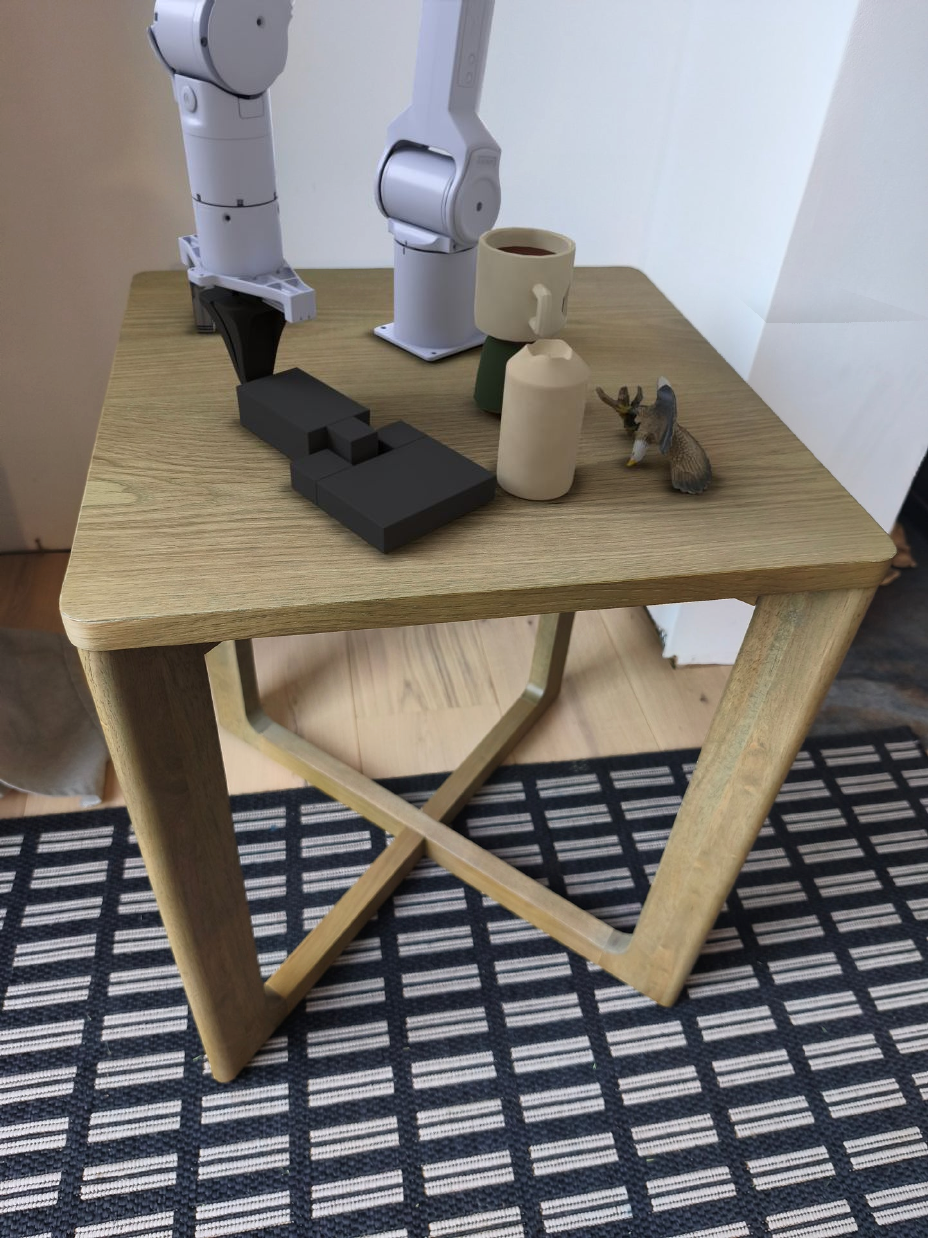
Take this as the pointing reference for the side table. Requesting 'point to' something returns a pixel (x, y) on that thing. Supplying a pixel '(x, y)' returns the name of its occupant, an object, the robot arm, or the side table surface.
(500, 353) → the character mug
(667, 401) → the eagle figurine
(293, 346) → the side table surface
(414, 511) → the base pad
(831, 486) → the side table surface
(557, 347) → the beige bottle vase
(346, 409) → the black t-shaped block
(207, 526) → the side table surface
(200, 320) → the mini dv tape
